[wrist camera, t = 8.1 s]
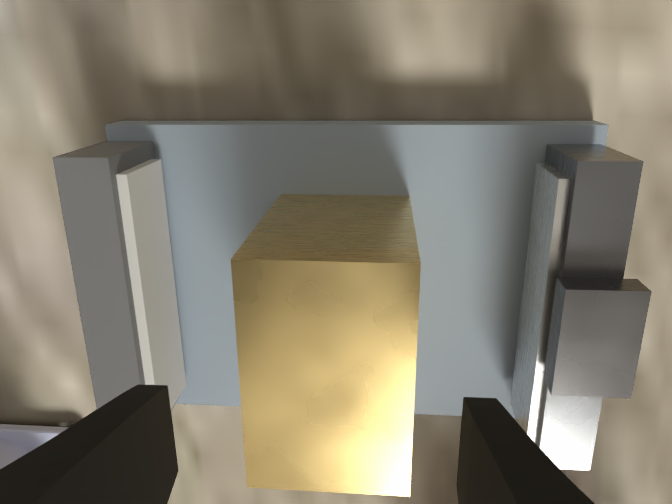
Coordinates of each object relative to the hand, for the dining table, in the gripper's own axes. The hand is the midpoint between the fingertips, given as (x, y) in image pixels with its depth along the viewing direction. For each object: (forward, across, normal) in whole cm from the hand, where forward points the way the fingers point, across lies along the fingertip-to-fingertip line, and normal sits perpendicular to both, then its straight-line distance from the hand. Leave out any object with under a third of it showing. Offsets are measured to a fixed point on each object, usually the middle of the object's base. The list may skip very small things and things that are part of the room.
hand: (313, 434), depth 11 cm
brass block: (+8, 0, 0) cm, 8 cm away
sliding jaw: (+8, -7, 0) cm, 10 cm away
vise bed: (+9, 0, 0) cm, 9 cm away
